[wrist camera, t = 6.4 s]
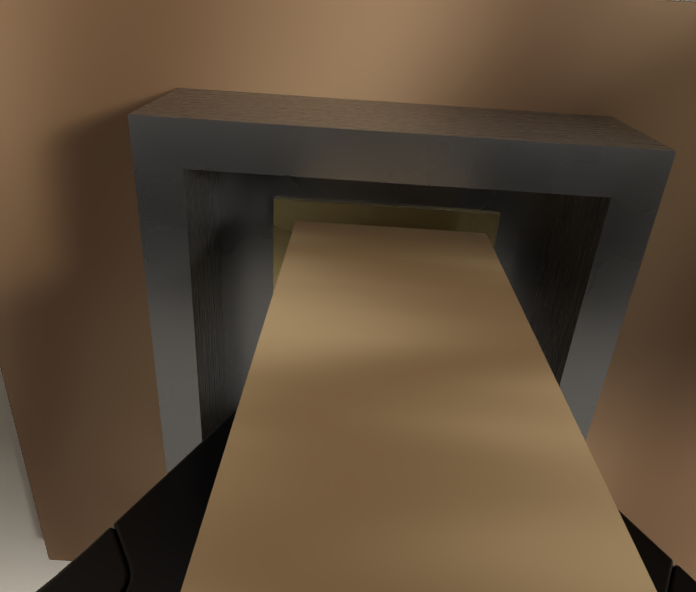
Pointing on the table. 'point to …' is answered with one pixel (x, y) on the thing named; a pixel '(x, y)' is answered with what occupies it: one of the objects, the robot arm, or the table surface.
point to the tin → (378, 222)
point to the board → (315, 81)
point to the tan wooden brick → (405, 435)
